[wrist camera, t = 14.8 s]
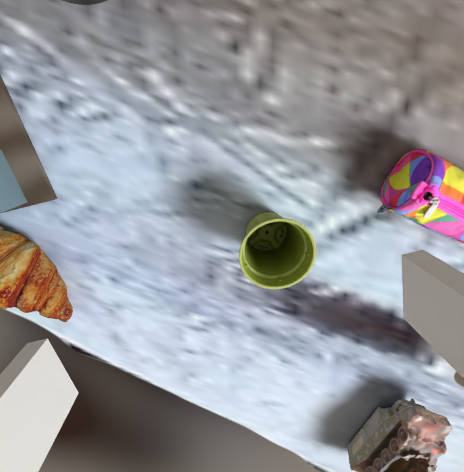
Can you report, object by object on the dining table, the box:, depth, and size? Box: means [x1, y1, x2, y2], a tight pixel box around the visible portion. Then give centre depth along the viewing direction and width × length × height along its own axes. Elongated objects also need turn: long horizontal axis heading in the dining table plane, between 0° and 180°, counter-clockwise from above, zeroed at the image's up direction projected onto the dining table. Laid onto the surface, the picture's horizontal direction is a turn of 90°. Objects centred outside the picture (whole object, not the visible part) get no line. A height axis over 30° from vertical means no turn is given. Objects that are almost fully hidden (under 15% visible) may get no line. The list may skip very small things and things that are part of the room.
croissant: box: [0, 226, 73, 322], centre depth 40 cm, size 21×10×8 cm, turn 39°
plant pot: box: [239, 212, 316, 289], centre depth 40 cm, size 9×9×9 cm
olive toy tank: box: [347, 399, 452, 472], centre depth 54 cm, size 13×20×10 cm, turn 150°
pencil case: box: [378, 149, 464, 243], centre depth 39 cm, size 22×9×9 cm, turn 67°
